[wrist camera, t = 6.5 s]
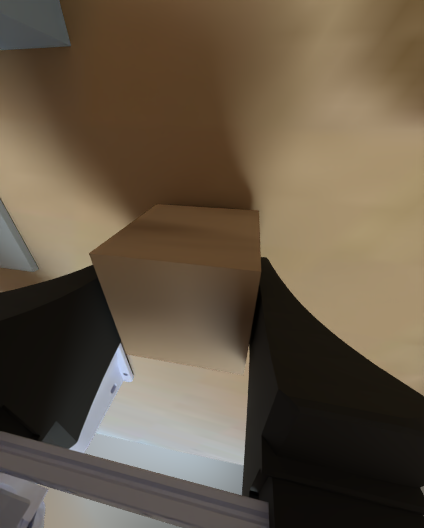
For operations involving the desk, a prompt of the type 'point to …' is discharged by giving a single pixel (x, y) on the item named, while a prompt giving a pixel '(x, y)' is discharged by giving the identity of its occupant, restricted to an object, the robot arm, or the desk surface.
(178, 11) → the desk surface
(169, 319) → the walnut block
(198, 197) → the desk surface
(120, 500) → the robot arm
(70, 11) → the desk surface
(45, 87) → the desk surface
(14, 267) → the board
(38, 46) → the blue cube
